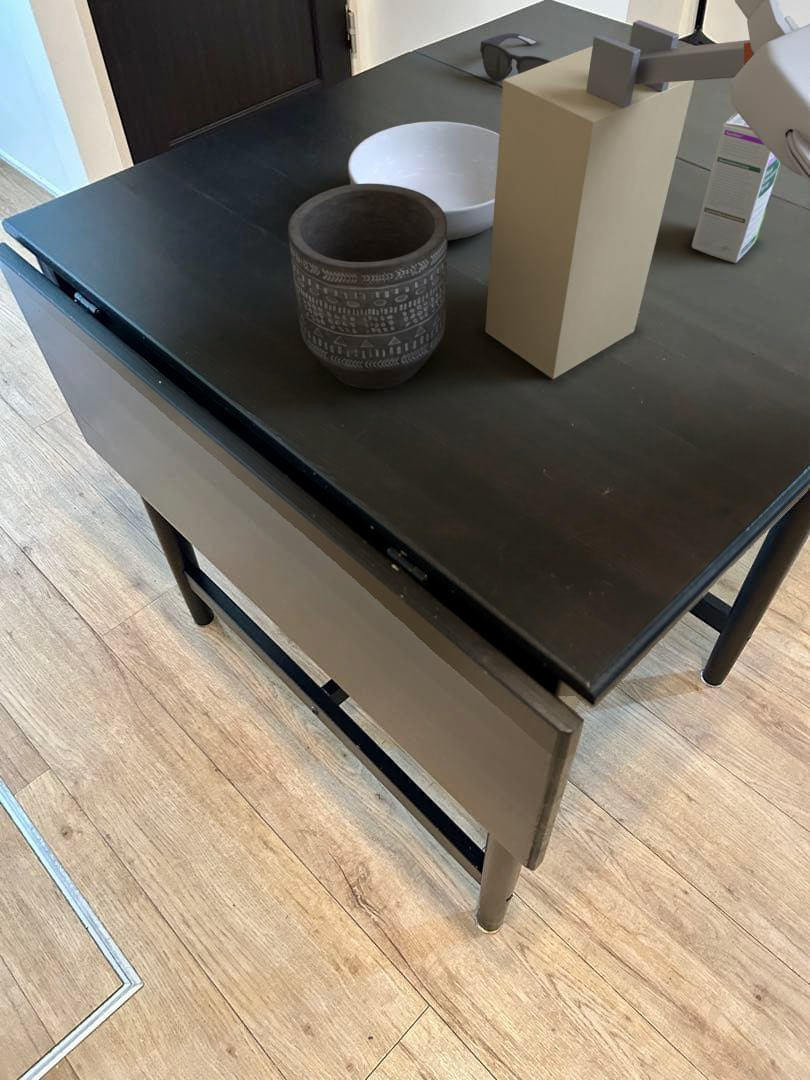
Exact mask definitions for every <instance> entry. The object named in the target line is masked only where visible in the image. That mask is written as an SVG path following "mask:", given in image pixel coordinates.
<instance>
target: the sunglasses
mask: <svg viewBox="0 0 810 1080" xmlns="http://www.w3.org/2000/svg"><path fill="white" fill-rule="evenodd" d="M509 39H518V40H520V41H523V42H524V43H526V44H528V45H529V46H533V45H536V44H537V42H538V41H537V40H536V39H534V38H531V37H528V36H525V35H523V34H520V33H515V32H514V33H513V32H510V33H509V32H508V33H503V34H499V35H495V36H492V37H489V38H487V39H484V40H482V41H481V42H480V48H479V51H480V54H481V59H482V64H483V69H484V71H485V73H486V75H487V76H488V77H489V78H490V80H492V81H494V82H498V83H499V82H503V80H504V79H507V78H508V77H509V75H510V74H511V73H512V71H513V61H516V63H515V67H516V70H517V74H520V73H523V72H525V71H528V70H531V69H533V68H536V67H538V66H541V65H544V64H546V63H549V62H552V61H553V60H550V59H547V58H545V57H540V56H535V55H522V56H521V55H517V54H514V53H511V52H510V51H509V50H507V49H506V48H504V47H502V46H501V44H502V43H503V42H505V41H506V40H509Z"/></svg>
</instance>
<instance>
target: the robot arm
mask: <svg viewBox="0 0 810 1080" xmlns="http://www.w3.org/2000/svg"><path fill="white" fill-rule="evenodd" d="M734 2H735V4H736V5H737V7H738V9H740V11H741V12H742V15H744V17H745V18H746V19H747V20H746V24H747V31H748V38H749V40H750V44H751V50H752V51H753V52H754V55H753V56H752V57H751V58H750V60H749V61H748V62H747V63H746V64H745V65H744V66H743V68H742V69H741V70H740V71H739V72H738V74H737V75H736V76H735V77H734V78H732V79H731V81H730V84H729V94H730V102H731V105H732V106H733V108H734V110H735V111H736V113H737V112H738V114H739V115H740V116H741V117H742V119H743V120H744V121H745V122H746V124H747V125H748V126H749V127H750V128H751V130H752V131H753V132H754V133H755V134H756V136H757V137H758V138H759V139H760V140H761V141H762V142H763V144H764V145H765V146H766V147H767V148H768V149H769V150H770V151H771V152H772V153H773V154H774V156H775V157H776V158H777V159H778V160H779V161H780V162H781V165H784V166H785V168H787V169H788V170H790V172H793V173H794V174H796V175H798V176H802V177H804V178H805V179H806V181H808V182H810V23H809V24H806V25H804V26H801V27H799V26H798V24H797V23H796V22H795V20H794V19H793V17H792V16H790V15H787V16H785V17H784V15H783V11H782V9H781V6H780V2H779V0H734Z"/></svg>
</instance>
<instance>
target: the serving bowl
mask: <svg viewBox="0 0 810 1080" xmlns="http://www.w3.org/2000/svg"><path fill="white" fill-rule="evenodd" d="M498 147H499V133H498V132H495V131H493V130H490V129H487V128H484V127H481V126H477V125H474V124H473V125H472V124H467V123H463V122H454V121H420V122H411V123H406V124H400V125H396V126H393V127H389V128H387V129H383V130H381V131H378V132H376V133H374V134H372V135H370V136H369V137H366V138H365V139H364V140H362V141H361V142H360V143H359V144H358V145H357V146H356V147H355V148H354V149H353V151H351V154H350V156H349V158H348V162H347V172H348V177H349V181H350V185H353V184H366V183H372V184H386V185H394V186H399V187H403V188H407V189H411V190H414V191H417V192H420V193H422V194H424V195H426V196H427V197H429V198H430V199H432V200H433V201H434V202H436V203H437V204H438V205H439V206H440V208H441V209H442V210H443V212H444V214H445V216H446V220H447V241H453V240H459V239H465V238H469V237H473V236H474V235H478V234H481V233H482V232H485V231H486V230H489V229H490V228H493V217H494V203H495V189H496V175H497V161H498Z"/></svg>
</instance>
